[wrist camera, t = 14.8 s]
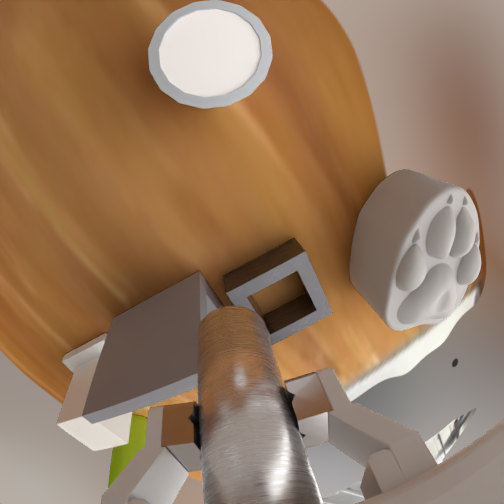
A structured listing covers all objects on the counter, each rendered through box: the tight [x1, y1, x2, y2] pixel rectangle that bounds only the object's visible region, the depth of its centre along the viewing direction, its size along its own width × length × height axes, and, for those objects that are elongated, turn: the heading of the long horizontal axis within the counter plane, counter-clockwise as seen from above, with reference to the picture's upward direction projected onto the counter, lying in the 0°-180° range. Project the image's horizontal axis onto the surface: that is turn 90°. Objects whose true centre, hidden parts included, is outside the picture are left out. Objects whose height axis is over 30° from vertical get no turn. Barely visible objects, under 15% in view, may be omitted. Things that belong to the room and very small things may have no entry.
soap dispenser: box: [108, 415, 147, 488], centre depth 25 cm, size 6×7×20 cm
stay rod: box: [197, 306, 323, 504], centre depth 8 cm, size 3×3×8 cm
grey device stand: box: [82, 271, 224, 424], centre depth 23 cm, size 10×10×12 cm
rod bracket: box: [223, 238, 333, 345], centre depth 26 cm, size 7×7×3 cm
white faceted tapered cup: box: [148, 0, 273, 109], centre depth 17 cm, size 7×7×7 cm
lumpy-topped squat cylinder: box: [349, 169, 481, 331], centre depth 24 cm, size 10×13×9 cm
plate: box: [62, 333, 107, 373], centre depth 28 cm, size 8×7×1 cm
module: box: [57, 357, 132, 451], centre depth 24 cm, size 5×5×8 cm
